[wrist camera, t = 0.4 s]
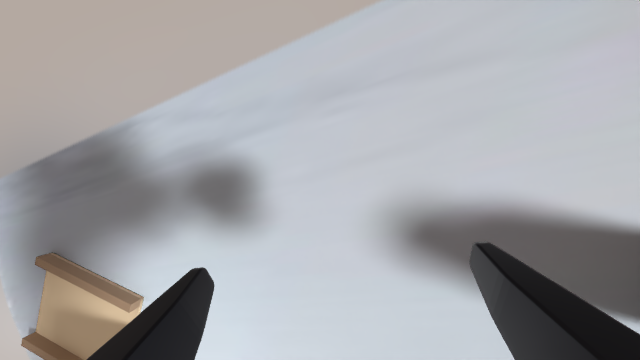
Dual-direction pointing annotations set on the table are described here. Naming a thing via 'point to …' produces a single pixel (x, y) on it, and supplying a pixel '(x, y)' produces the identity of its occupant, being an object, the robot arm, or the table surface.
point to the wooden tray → (78, 311)
